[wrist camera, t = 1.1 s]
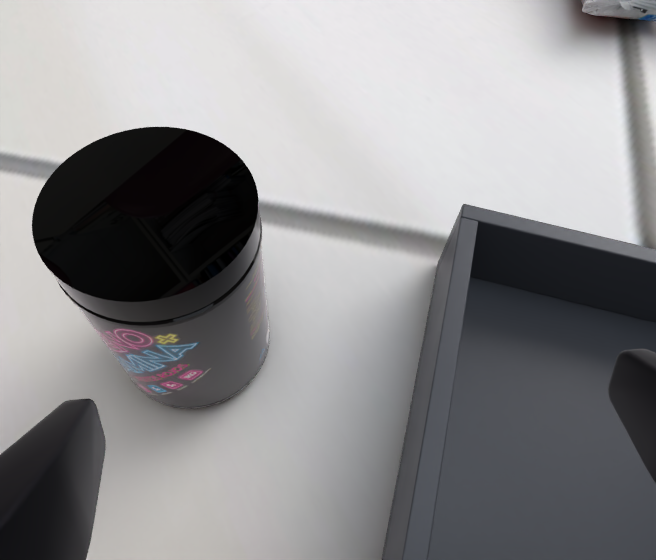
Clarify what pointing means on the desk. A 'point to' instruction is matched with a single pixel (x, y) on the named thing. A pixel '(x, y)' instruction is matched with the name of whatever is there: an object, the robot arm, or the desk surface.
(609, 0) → the packaged food
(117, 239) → the supplement container
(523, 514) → the square tray
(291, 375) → the desk surface
